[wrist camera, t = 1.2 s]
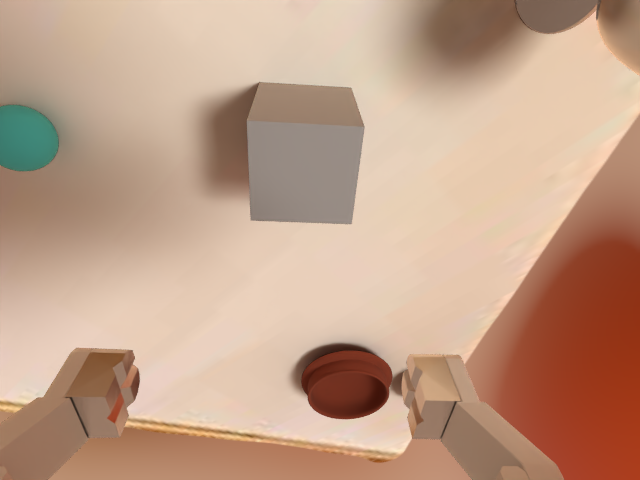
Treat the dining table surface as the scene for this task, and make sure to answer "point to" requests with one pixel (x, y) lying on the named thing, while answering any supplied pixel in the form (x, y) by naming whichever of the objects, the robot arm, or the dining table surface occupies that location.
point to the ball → (26, 138)
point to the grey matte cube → (303, 153)
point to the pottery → (347, 384)
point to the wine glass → (576, 6)
